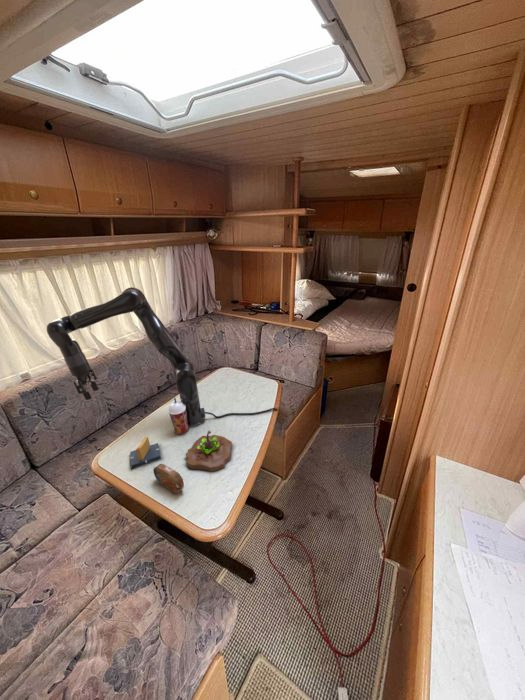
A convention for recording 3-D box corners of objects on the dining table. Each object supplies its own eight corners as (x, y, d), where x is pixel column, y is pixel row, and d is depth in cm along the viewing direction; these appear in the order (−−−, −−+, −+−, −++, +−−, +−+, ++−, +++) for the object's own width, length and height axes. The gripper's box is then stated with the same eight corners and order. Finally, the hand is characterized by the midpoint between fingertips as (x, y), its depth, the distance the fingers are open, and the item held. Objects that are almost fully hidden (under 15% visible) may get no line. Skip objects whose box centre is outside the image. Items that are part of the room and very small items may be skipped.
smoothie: (193, 426, 141) (187, 394, 133) (184, 437, 134) (176, 404, 126) (179, 423, 144) (172, 392, 136) (169, 434, 137) (161, 401, 129)
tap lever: (147, 447, 126) (144, 436, 124) (150, 447, 126) (148, 436, 124) (139, 460, 119) (136, 449, 116) (142, 460, 119) (139, 449, 116)
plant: (237, 441, 131) (236, 422, 126) (224, 474, 113) (221, 453, 109) (198, 436, 135) (196, 417, 130) (180, 467, 117) (176, 447, 113)
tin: (154, 480, 112) (150, 464, 108) (161, 474, 114) (157, 459, 111) (180, 496, 104) (177, 480, 101) (186, 490, 107) (183, 474, 103)
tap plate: (158, 444, 131) (157, 440, 130) (161, 461, 121) (160, 457, 120) (130, 452, 126) (129, 449, 125) (132, 471, 116) (130, 468, 115)
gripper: (79, 367, 113) (95, 400, 119) (92, 355, 126) (106, 385, 132) (60, 371, 112) (77, 404, 118) (75, 359, 126) (90, 389, 132)
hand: (92, 394), depth 125 cm, fingers open, 8 cm apart
